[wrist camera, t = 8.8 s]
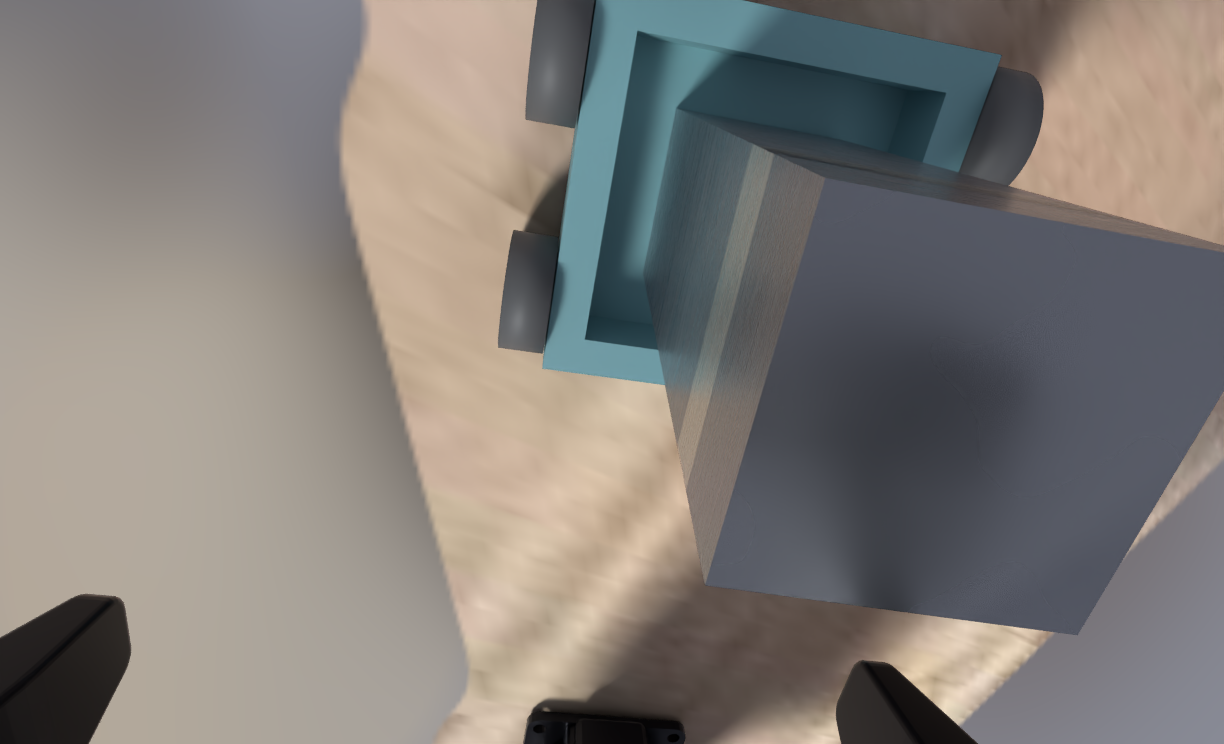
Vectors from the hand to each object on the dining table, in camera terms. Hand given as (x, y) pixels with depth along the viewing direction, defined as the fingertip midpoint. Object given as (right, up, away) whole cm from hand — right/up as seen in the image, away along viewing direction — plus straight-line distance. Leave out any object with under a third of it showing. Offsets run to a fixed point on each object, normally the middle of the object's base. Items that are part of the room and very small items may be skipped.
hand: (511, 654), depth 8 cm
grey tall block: (+5, +8, +10) cm, 14 cm away
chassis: (+5, +8, +11) cm, 15 cm away
